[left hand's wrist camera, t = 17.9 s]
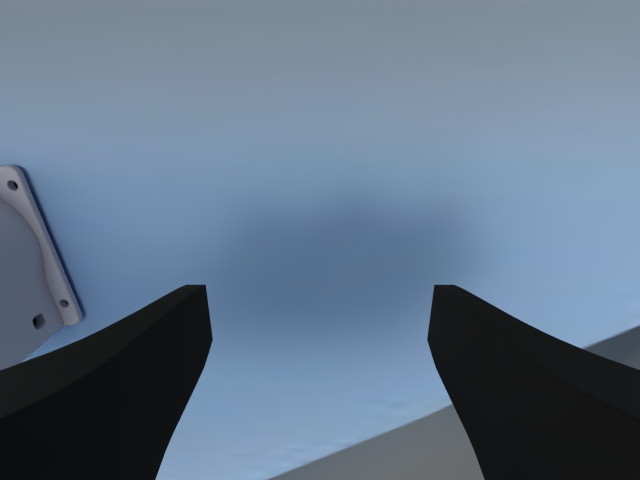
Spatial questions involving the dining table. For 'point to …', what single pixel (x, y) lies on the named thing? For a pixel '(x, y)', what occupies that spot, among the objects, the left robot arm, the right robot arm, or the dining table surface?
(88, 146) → the dining table surface
